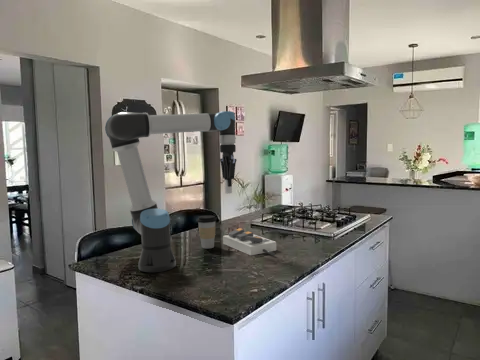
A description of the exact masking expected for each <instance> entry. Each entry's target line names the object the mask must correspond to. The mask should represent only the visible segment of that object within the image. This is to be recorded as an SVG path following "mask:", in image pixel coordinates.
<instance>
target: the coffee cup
mask: <svg viewBox="0 0 480 360" xmlns="http://www.w3.org/2000/svg"><path fill="white" fill-rule="evenodd" d="M216 222H217V217H216V216H215V215H210V214H209V215H208V214H207V215H206V214H205V215H200V216H199V217H198V218H197V223H198V230H199V232H198V234H199V238H200V243H201V248H202V249H205V250H206V249H212V248H214V247H215V236H216Z"/></svg>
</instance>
